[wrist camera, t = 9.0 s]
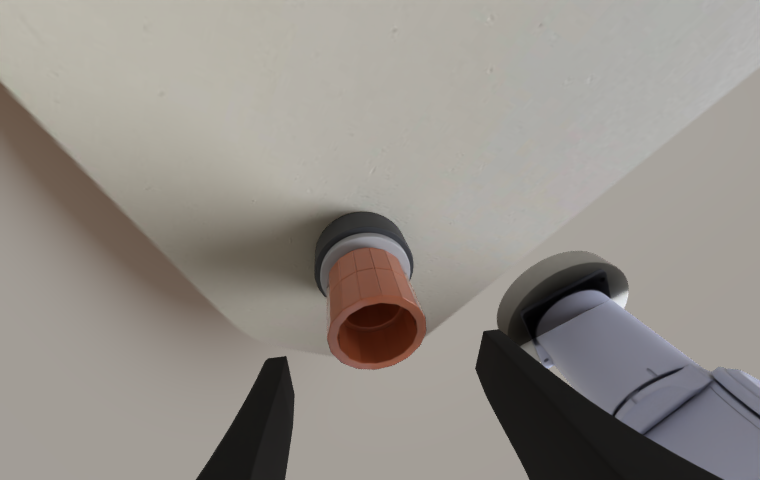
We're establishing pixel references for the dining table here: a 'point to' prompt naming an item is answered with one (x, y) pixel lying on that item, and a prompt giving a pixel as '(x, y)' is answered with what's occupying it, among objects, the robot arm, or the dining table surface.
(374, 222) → the push button
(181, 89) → the dining table surface
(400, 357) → the cup
